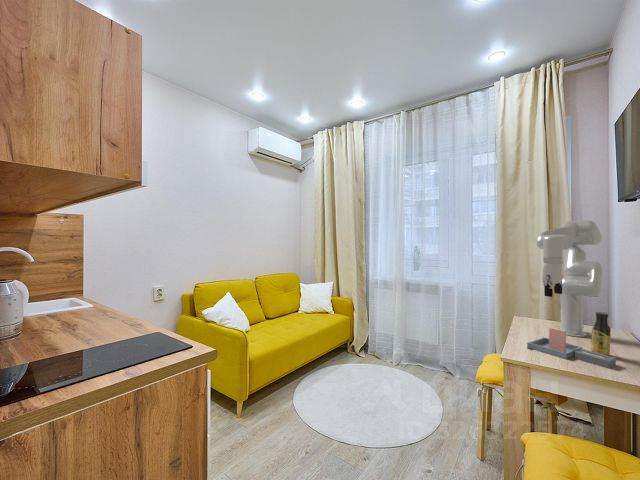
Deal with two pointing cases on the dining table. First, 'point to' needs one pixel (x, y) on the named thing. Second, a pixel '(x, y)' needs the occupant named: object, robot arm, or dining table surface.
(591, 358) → the dispenser
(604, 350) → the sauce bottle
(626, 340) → the dining table surface
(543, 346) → the tray
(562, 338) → the ticket
